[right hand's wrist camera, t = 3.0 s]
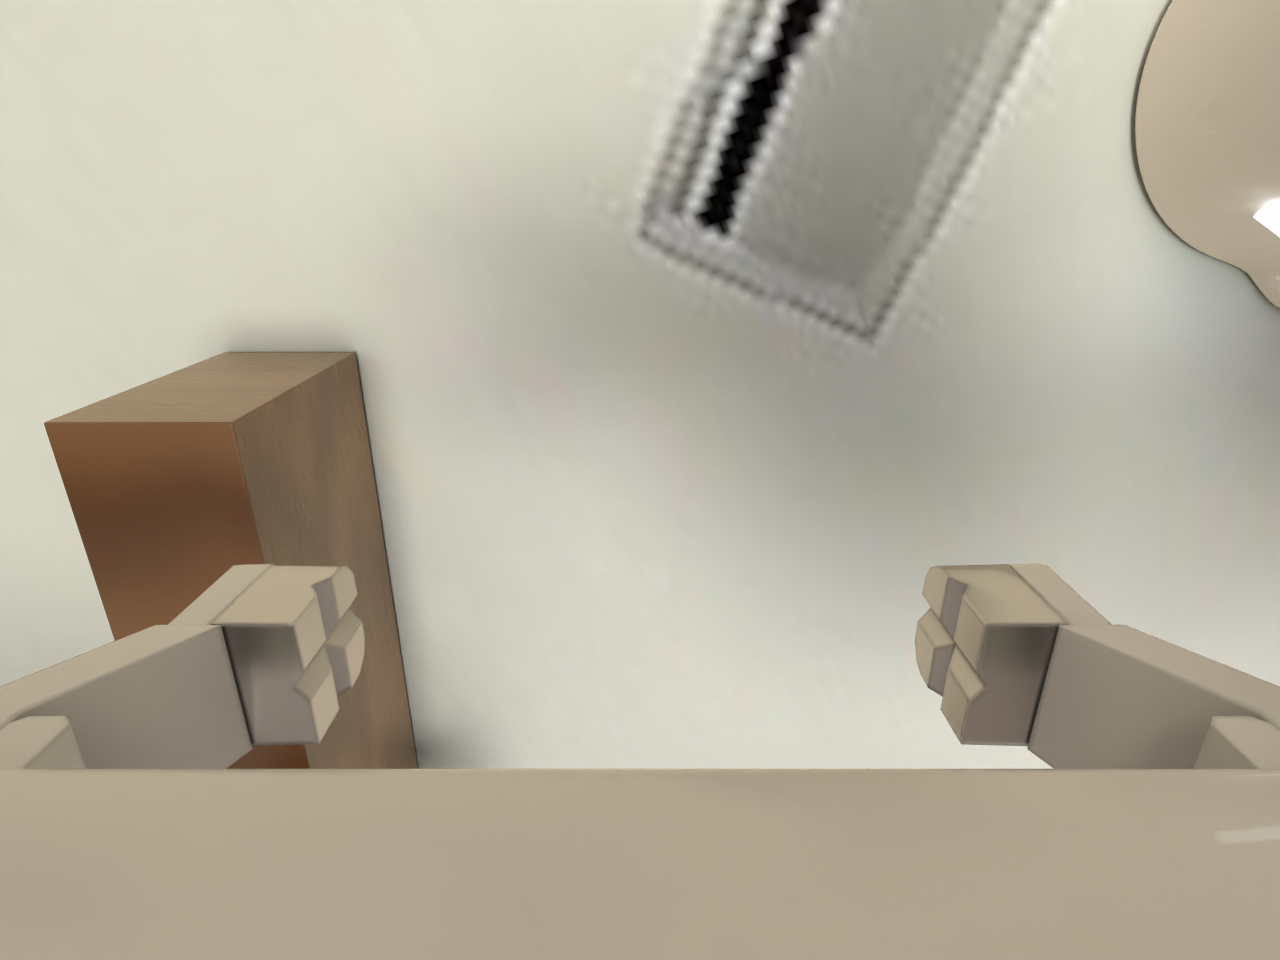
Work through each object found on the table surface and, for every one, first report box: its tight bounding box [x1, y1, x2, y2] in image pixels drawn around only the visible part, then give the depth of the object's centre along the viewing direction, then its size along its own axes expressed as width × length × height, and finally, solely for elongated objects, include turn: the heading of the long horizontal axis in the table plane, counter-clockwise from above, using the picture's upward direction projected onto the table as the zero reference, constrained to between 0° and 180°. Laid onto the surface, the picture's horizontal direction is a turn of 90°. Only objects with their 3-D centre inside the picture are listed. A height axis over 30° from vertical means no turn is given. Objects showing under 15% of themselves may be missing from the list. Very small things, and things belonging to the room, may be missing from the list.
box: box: [44, 352, 418, 769], centre depth 33 cm, size 27×6×11 cm, turn 0°
